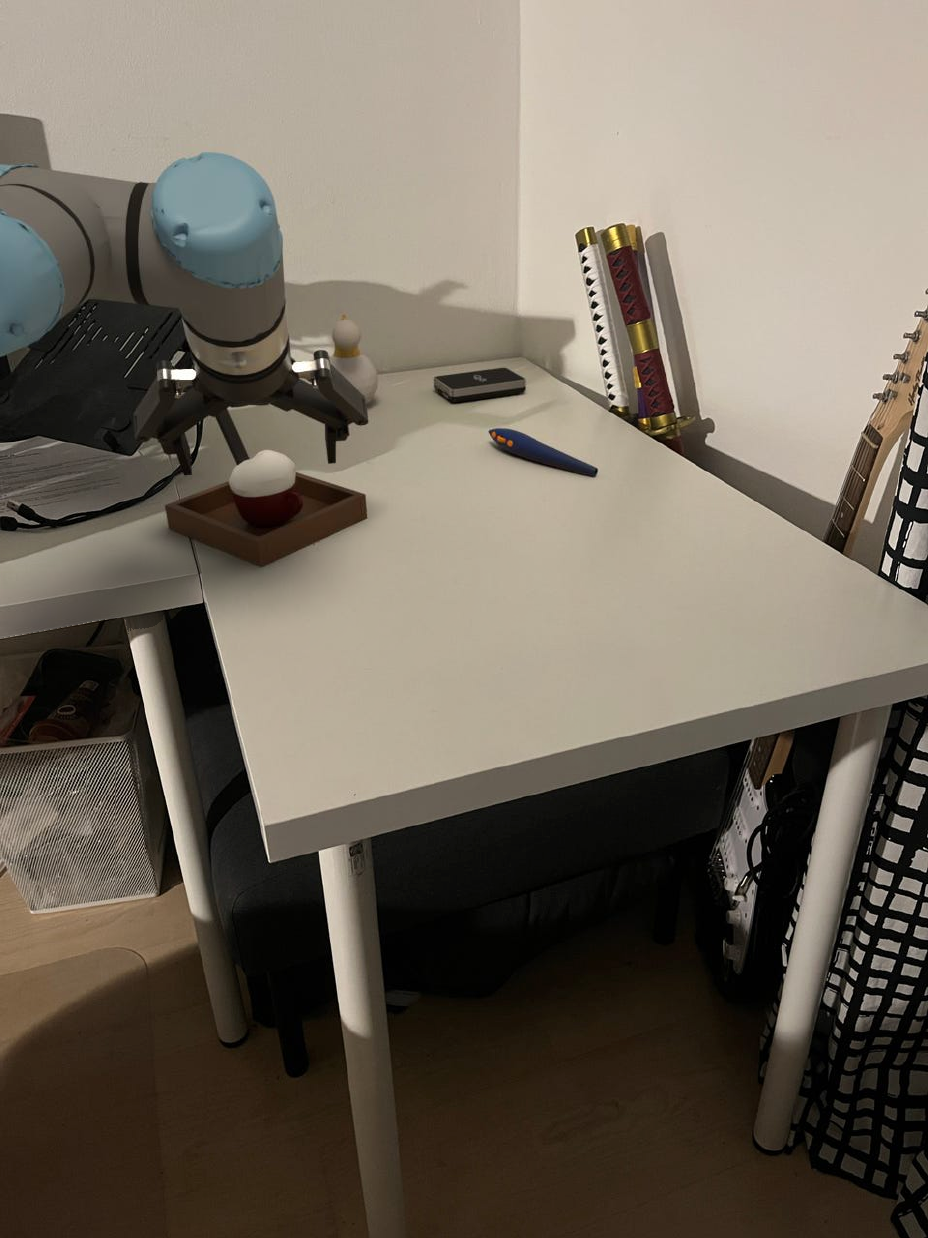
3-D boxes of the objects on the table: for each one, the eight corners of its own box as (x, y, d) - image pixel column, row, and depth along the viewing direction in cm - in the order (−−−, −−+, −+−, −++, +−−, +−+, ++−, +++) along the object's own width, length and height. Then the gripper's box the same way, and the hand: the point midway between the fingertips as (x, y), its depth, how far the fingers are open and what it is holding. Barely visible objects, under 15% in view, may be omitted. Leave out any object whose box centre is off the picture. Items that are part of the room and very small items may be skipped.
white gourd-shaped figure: (363, 394, 131) (357, 303, 125) (397, 412, 124) (392, 317, 118) (312, 403, 128) (303, 310, 122) (344, 423, 121) (337, 325, 115)
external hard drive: (432, 391, 132) (432, 376, 131) (506, 380, 136) (506, 366, 135) (452, 405, 126) (451, 390, 125) (528, 394, 130) (528, 379, 129)
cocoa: (317, 527, 92) (305, 404, 87) (256, 543, 90) (238, 417, 84) (275, 496, 99) (261, 380, 93) (217, 510, 96) (199, 391, 90)
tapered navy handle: (602, 483, 106) (607, 462, 105) (583, 486, 103) (588, 464, 102) (496, 439, 115) (500, 419, 114) (476, 441, 112) (480, 420, 111)
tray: (261, 567, 86) (257, 541, 85) (168, 528, 94) (164, 504, 93) (367, 517, 96) (365, 494, 94) (275, 486, 103) (272, 463, 102)
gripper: (67, 391, 70) (127, 503, 90) (409, 368, 74) (393, 481, 94) (62, 300, 72) (122, 430, 92) (396, 283, 76) (383, 411, 96)
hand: (259, 456), depth 93 cm, fingers open, 13 cm apart
